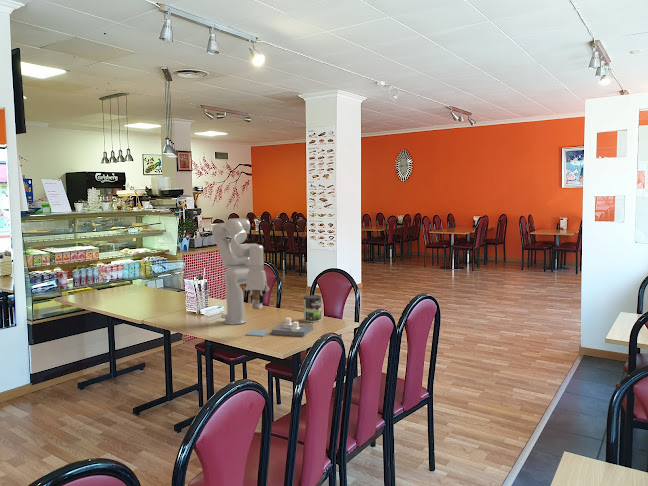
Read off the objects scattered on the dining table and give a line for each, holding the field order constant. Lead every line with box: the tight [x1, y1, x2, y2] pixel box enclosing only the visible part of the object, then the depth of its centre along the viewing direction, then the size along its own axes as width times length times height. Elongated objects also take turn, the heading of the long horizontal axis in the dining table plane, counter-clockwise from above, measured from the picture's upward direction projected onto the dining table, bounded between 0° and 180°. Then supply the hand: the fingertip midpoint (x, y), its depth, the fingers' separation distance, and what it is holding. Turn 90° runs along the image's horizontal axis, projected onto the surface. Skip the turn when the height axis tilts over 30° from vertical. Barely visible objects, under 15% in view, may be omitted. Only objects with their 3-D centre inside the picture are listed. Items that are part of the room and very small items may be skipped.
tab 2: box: [291, 321, 301, 330], centre depth 270 cm, size 4×4×4 cm
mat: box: [244, 329, 271, 337], centre depth 272 cm, size 10×10×1 cm
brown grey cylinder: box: [251, 290, 263, 310], centre depth 270 cm, size 4×4×10 cm
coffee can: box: [303, 294, 322, 323], centre depth 299 cm, size 10×10×14 cm
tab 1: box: [284, 317, 293, 326], centre depth 278 cm, size 4×4×4 cm
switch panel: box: [271, 322, 314, 337], centre depth 275 cm, size 18×16×3 cm
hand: (257, 302), depth 270 cm, fingers closed on brown grey cylinder, 4 cm apart
